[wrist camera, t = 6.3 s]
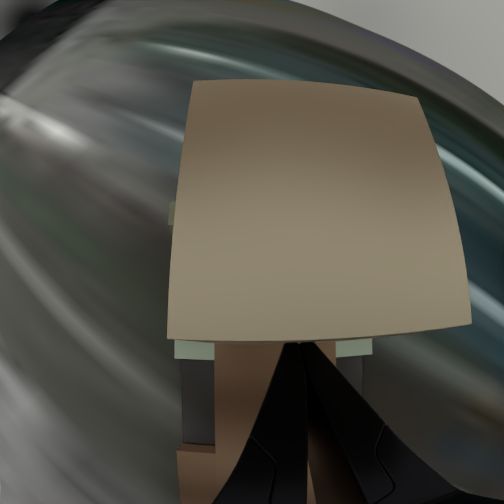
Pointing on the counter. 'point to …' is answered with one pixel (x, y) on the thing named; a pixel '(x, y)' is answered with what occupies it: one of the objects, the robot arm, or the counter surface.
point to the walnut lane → (233, 403)
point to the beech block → (311, 218)
